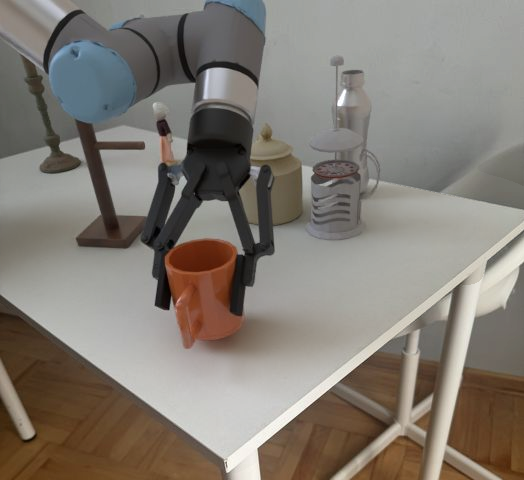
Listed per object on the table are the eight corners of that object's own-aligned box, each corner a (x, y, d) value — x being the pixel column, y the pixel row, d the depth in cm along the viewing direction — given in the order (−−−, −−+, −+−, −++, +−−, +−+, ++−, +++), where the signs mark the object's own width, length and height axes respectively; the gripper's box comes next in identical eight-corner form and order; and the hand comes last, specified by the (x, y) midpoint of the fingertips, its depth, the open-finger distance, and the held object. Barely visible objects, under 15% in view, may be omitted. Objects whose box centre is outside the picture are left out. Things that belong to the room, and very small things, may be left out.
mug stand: (77, 245, 89) (37, 120, 77) (102, 222, 96) (69, 103, 84) (152, 249, 86) (123, 119, 74) (172, 224, 93) (148, 102, 81)
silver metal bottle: (362, 201, 95) (367, 77, 82) (326, 197, 97) (326, 76, 85) (372, 187, 99) (379, 67, 87) (337, 184, 102) (339, 67, 89)
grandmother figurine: (153, 162, 120) (141, 101, 112) (168, 157, 121) (157, 97, 113) (170, 170, 115) (159, 107, 107) (185, 165, 116) (175, 103, 108)
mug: (191, 299, 70) (179, 236, 64) (251, 304, 68) (245, 239, 62) (155, 359, 61) (138, 292, 55) (224, 366, 59) (213, 297, 53)
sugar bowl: (218, 204, 98) (207, 119, 89) (269, 188, 103) (263, 105, 93) (262, 232, 88) (254, 138, 79) (316, 213, 92) (314, 122, 83)
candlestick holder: (84, 157, 126) (42, 7, 107) (76, 171, 119) (29, 12, 100) (45, 161, 126) (-4, 11, 107) (35, 175, 119) (-19, 17, 100)
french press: (313, 211, 93) (310, 48, 77) (380, 215, 90) (392, 46, 74) (298, 237, 86) (292, 63, 70) (371, 243, 82) (382, 62, 67)
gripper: (314, 138, 64) (294, 323, 62) (153, 137, 69) (129, 310, 67) (306, 103, 57) (282, 312, 55) (126, 105, 62) (98, 297, 60)
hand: (198, 310), depth 61 cm, fingers closed on mug, 8 cm apart
